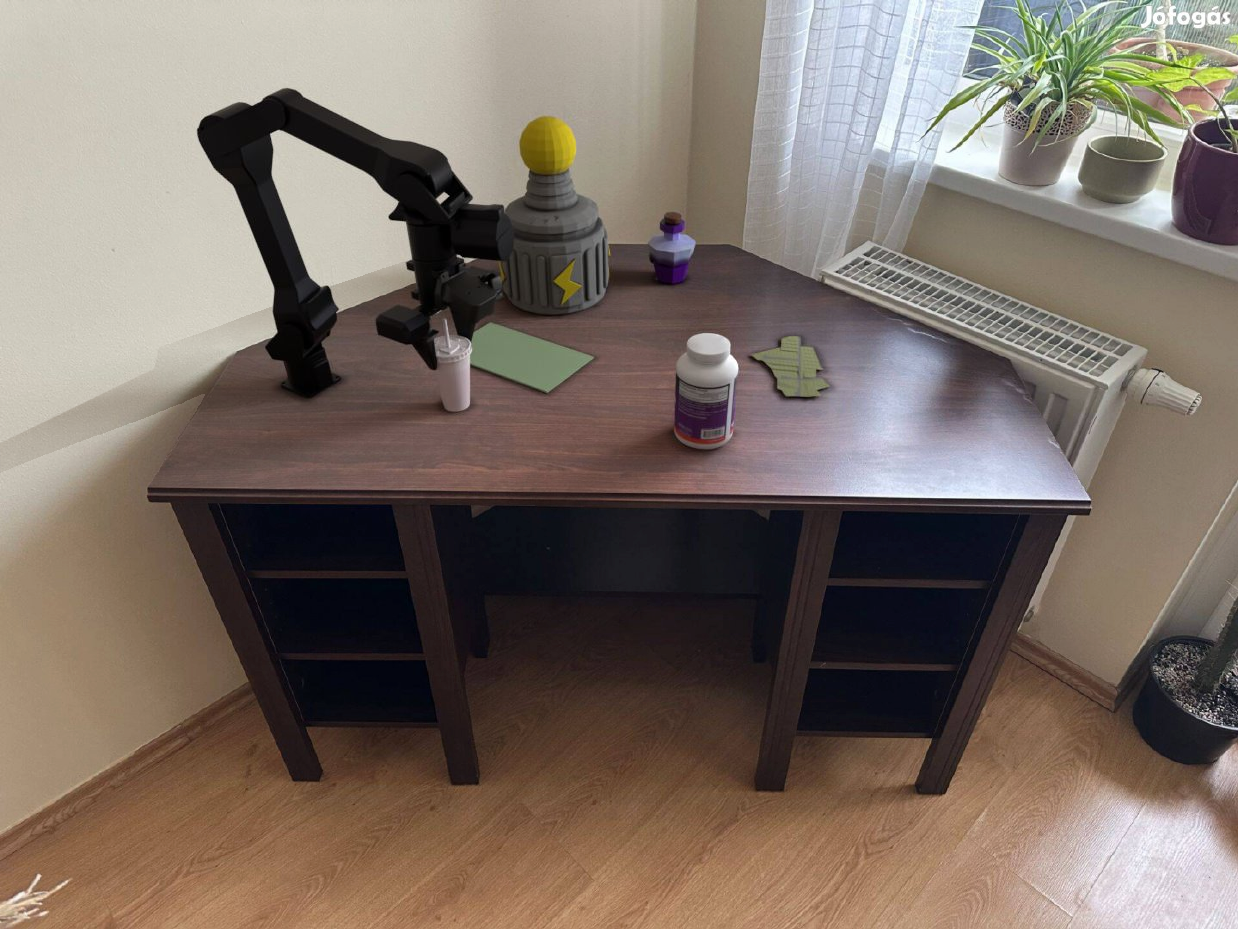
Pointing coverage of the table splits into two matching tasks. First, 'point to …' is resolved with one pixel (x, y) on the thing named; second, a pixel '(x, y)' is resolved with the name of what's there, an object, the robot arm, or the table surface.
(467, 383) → the smoothie
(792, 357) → the olive flat irregular sheet
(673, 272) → the potion bottle
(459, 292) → the robot arm
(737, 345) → the table surface
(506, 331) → the green cloth
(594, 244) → the decorative lamp
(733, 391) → the pill bottle
